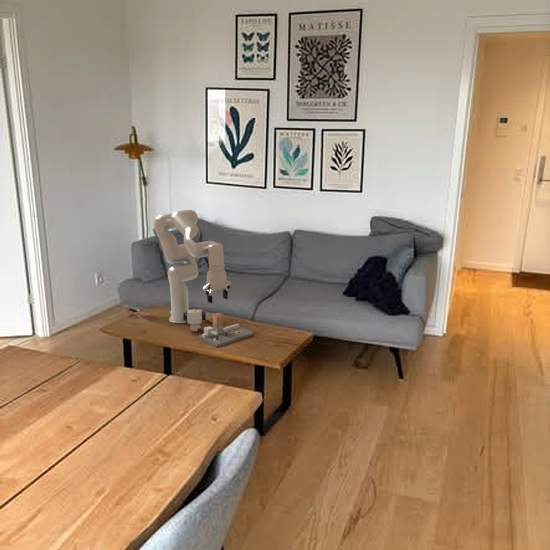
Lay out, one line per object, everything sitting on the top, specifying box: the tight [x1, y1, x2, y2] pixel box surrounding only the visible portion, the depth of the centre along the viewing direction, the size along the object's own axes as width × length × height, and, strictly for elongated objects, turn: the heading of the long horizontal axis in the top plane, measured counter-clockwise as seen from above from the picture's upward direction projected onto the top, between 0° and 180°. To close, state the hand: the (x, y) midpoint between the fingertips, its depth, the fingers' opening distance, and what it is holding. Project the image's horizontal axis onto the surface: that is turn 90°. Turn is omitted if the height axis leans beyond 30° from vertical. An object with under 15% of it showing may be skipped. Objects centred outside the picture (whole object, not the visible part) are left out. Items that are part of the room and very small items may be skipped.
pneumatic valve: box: [183, 308, 207, 332], centre depth 289 cm, size 6×12×12 cm, turn 94°
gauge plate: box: [197, 323, 255, 348], centre depth 280 cm, size 16×24×6 cm, turn 133°
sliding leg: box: [211, 311, 227, 336], centre depth 279 cm, size 9×4×10 cm, turn 43°
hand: (217, 300), depth 277 cm, fingers open, 9 cm apart
